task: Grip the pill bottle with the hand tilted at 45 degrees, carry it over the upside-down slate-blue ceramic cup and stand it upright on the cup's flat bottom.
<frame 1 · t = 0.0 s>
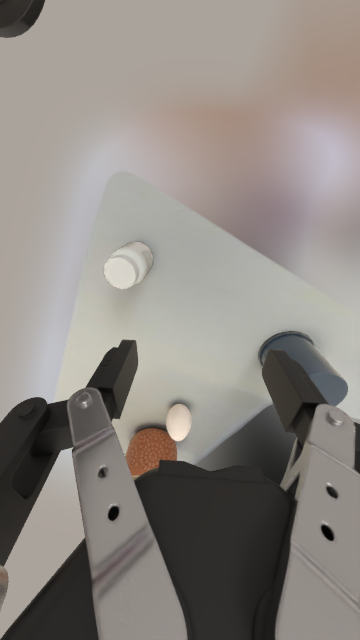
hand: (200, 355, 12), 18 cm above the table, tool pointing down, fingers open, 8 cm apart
pill bottle: (138, 257, 27), on the table
cup: (284, 352, 33), on the table
planter: (155, 434, 49), on the table
egg: (179, 404, 42), on the table
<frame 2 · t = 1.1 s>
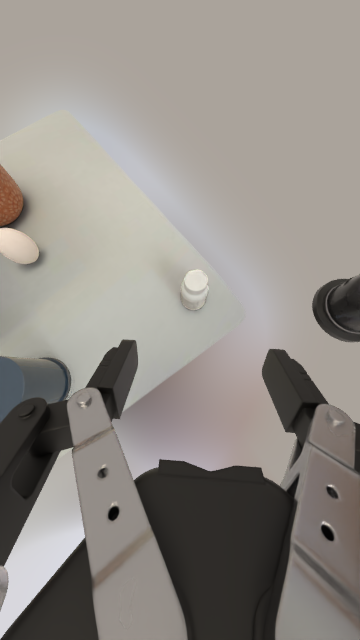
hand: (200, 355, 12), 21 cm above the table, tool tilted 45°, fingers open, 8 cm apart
pill bottle: (193, 299, 34), on the table
cup: (43, 385, 31), on the table
planter: (5, 212, 40), on the table
egg: (34, 258, 37), on the table
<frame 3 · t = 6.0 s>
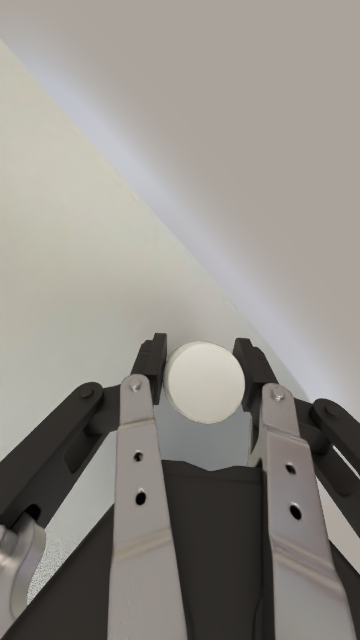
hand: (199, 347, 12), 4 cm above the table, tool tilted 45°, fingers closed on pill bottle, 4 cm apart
pill bottle: (194, 375, 16), on the table, touching gripper
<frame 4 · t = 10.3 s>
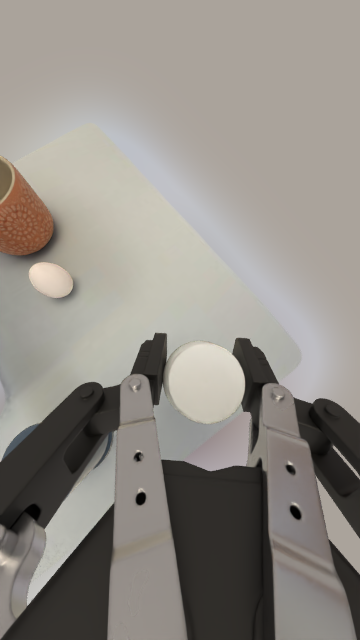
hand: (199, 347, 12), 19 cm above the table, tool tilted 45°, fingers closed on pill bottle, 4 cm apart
pill bottle: (195, 375, 16), point 15 cm above the table, touching gripper
cup: (83, 436, 28), on the table
planter: (32, 236, 38), on the table
egg: (66, 289, 35), on the table
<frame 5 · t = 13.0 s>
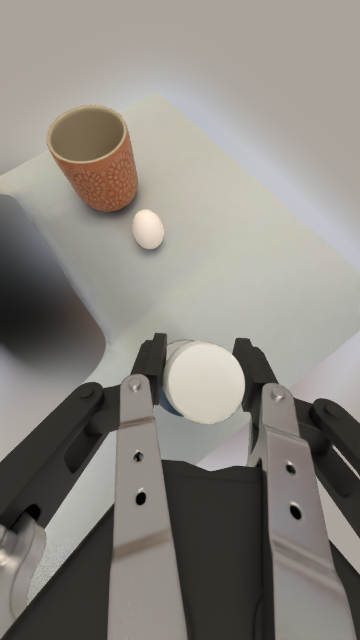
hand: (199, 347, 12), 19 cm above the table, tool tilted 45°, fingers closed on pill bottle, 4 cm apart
pill bottle: (194, 375, 16), point 15 cm above the table, touching gripper
cup: (185, 373, 30), on the table
planter: (113, 197, 39), on the table
egg: (152, 244, 36), on the table
when the fingers open (13 cm above the table, at t = 15.0 s): pill bottle stays where it is, resting on cup.
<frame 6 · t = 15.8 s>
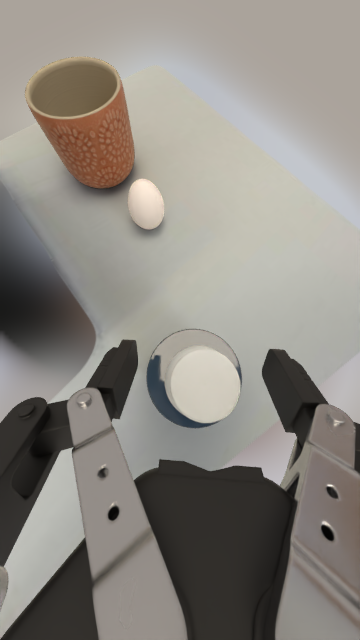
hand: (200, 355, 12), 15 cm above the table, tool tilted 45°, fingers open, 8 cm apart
pill bottle: (194, 377, 17), point 9 cm above the table, touching cup
cup: (190, 373, 25), on the table, touching pill bottle
planter: (107, 173, 35), on the table
egg: (150, 225, 32), on the table
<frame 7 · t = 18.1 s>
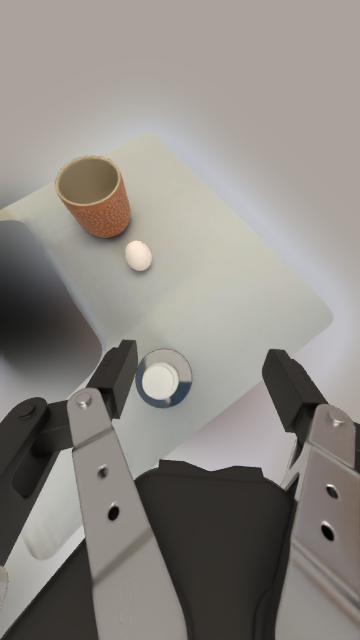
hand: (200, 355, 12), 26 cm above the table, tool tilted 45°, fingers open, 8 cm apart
pill bottle: (164, 378, 28), point 9 cm above the table, touching cup
cup: (167, 375, 36), on the table, touching pill bottle
planter: (109, 224, 46), on the table
egg: (142, 266, 43), on the table
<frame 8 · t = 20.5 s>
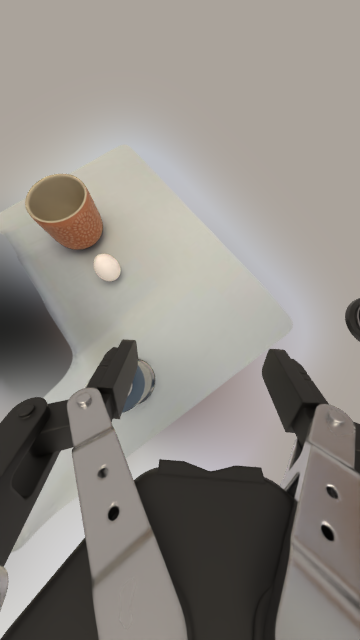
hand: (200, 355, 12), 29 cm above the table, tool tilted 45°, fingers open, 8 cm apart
cup: (133, 381, 39), on the table, touching pill bottle
planter: (84, 235, 48), on the table
egg: (113, 276, 45), on the table
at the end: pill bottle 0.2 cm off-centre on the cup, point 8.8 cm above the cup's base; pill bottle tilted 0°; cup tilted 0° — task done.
